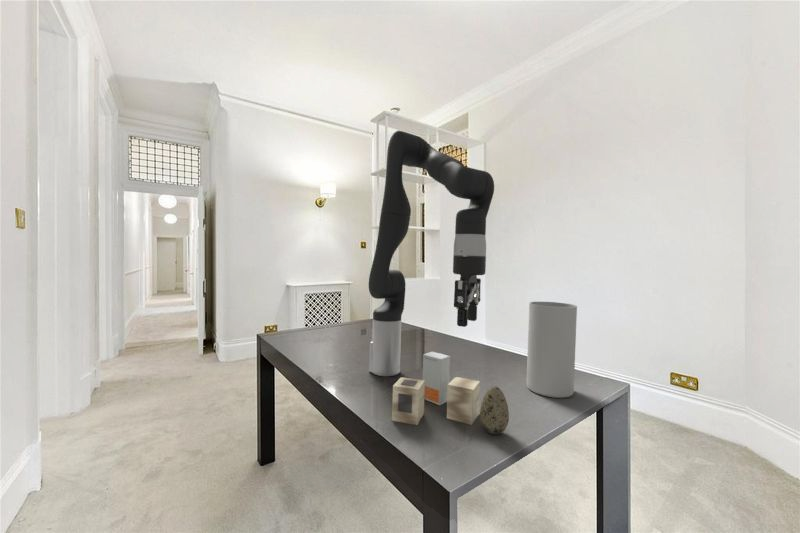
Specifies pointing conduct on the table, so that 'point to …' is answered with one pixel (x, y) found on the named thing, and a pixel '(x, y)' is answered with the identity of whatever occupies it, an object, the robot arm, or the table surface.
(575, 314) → the cylinder vase
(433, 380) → the skincare box
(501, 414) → the decorative egg
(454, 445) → the table surface
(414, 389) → the marked block
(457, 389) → the birch block
